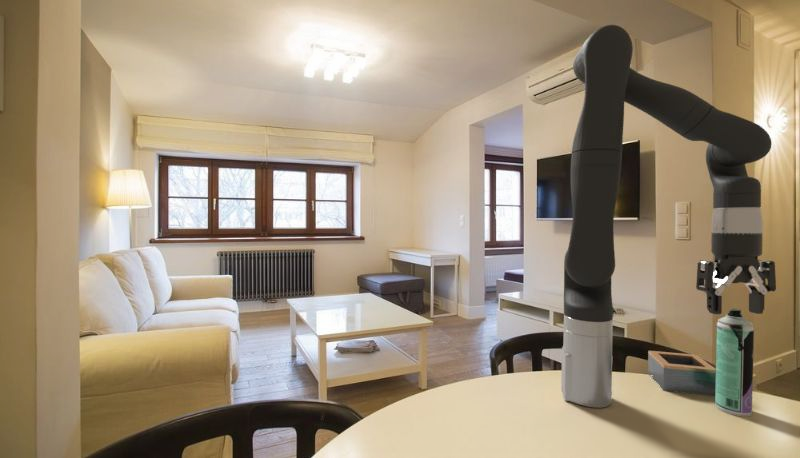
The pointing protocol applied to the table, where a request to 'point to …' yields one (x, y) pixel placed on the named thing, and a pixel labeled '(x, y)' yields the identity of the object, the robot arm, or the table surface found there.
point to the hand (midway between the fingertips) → (735, 313)
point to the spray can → (734, 364)
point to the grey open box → (682, 373)
